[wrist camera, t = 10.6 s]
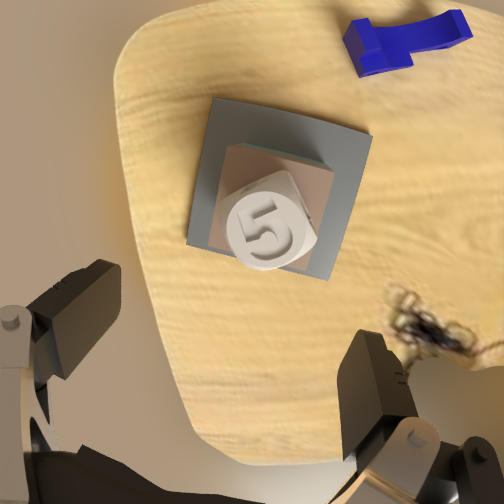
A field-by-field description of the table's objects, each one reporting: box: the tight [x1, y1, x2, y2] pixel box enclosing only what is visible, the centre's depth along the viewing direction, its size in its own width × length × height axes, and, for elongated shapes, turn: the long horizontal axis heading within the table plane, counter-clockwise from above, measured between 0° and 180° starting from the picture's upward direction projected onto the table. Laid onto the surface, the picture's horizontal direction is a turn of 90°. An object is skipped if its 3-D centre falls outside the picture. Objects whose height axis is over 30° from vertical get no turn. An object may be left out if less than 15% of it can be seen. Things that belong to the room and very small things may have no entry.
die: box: [218, 170, 318, 271], centre depth 21 cm, size 5×5×5 cm
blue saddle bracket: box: [343, 9, 473, 78], centre depth 21 cm, size 12×4×6 cm, turn 111°
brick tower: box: [186, 97, 373, 281], centre depth 27 cm, size 16×16×9 cm
